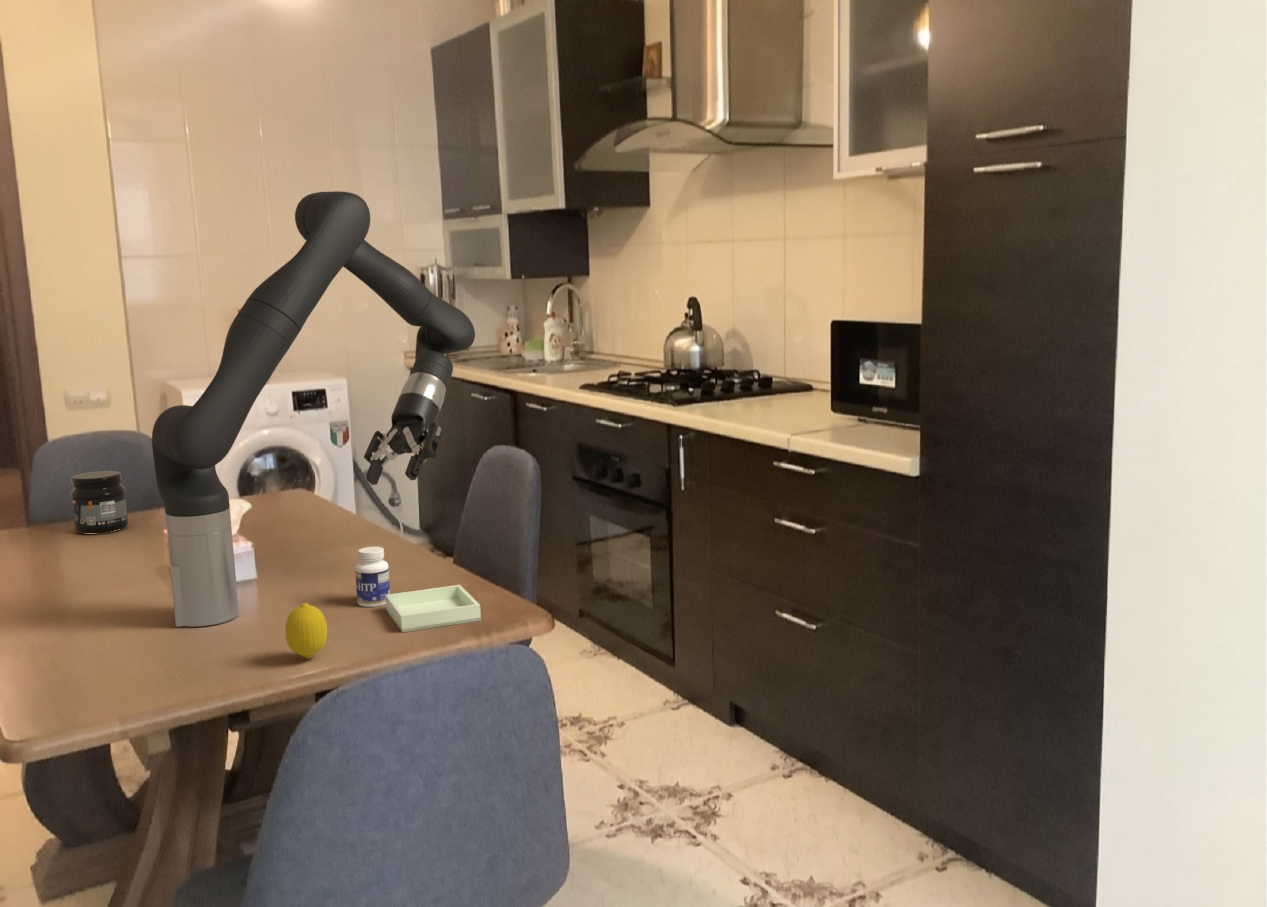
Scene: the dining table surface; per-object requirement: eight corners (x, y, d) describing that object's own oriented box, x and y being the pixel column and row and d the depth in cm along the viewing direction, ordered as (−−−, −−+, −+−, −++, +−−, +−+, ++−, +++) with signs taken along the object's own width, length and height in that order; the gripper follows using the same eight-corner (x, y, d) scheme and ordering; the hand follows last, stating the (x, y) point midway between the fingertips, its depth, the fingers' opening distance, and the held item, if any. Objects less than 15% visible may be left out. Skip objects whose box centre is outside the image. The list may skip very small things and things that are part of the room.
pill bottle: (350, 605, 171) (347, 552, 169) (370, 596, 176) (366, 544, 174) (378, 609, 169) (374, 554, 167) (397, 599, 174) (394, 546, 172)
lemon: (317, 667, 144) (313, 610, 143) (279, 664, 145) (275, 608, 144) (336, 652, 149) (332, 598, 148) (300, 650, 150) (296, 596, 149)
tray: (402, 632, 157) (401, 616, 157) (386, 610, 168) (385, 594, 168) (480, 620, 162) (480, 604, 162) (460, 599, 173) (459, 584, 172)
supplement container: (95, 523, 233) (89, 470, 231) (139, 524, 232) (134, 470, 230) (63, 535, 223) (57, 479, 221) (109, 536, 221) (103, 479, 219)
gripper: (375, 396, 189) (344, 471, 180) (439, 385, 182) (410, 463, 173) (400, 421, 194) (371, 495, 185) (463, 411, 187) (436, 488, 178)
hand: (390, 480), depth 179 cm, fingers open, 8 cm apart
